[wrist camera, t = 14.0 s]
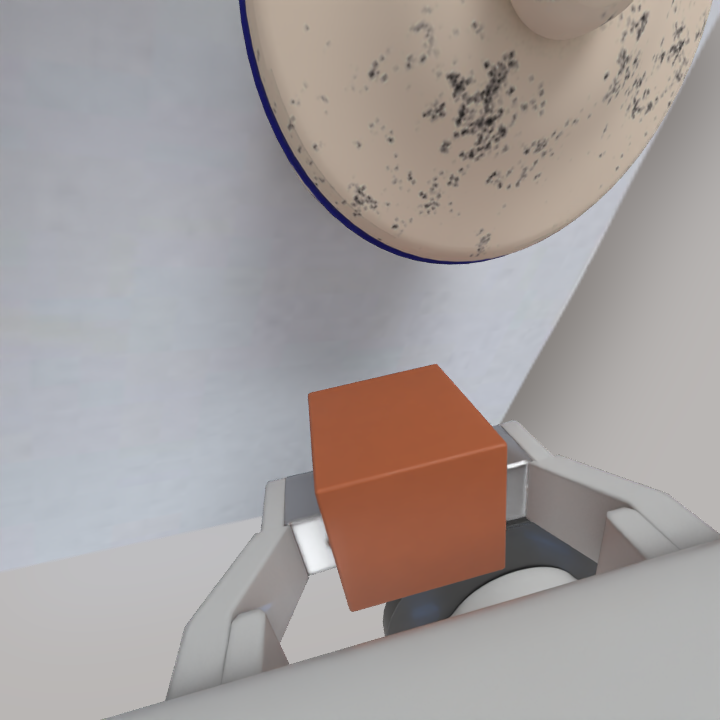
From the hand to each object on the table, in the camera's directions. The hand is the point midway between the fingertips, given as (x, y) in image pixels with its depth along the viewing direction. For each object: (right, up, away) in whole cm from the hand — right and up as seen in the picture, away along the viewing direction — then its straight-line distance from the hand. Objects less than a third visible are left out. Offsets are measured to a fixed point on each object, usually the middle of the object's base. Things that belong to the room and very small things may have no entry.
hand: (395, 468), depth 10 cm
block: (0, +1, +2) cm, 2 cm away
